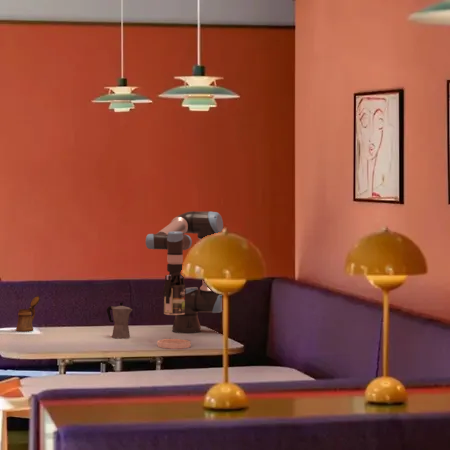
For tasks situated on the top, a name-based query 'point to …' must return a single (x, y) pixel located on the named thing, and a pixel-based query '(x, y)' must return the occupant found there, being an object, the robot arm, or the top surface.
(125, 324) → the coffeepot
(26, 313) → the brown tapered pot
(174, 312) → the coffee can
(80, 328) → the top surface
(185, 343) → the round dish
